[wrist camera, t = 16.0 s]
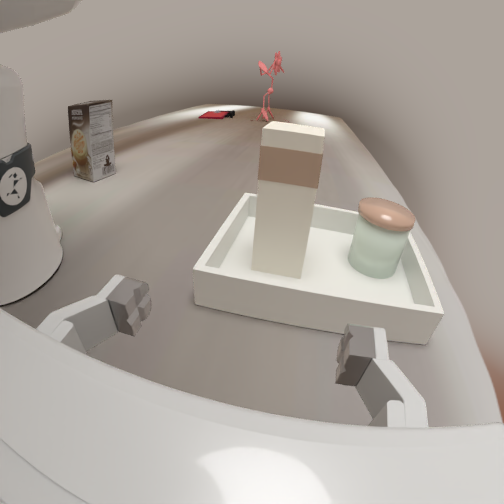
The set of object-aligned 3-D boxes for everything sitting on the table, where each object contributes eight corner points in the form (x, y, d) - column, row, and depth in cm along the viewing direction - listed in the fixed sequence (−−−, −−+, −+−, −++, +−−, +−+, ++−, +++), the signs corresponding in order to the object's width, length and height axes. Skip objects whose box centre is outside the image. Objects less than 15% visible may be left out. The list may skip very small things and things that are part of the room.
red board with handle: (237, 112, 153) (210, 112, 153) (237, 108, 151) (210, 107, 152) (230, 120, 128) (198, 119, 128) (230, 114, 126) (198, 114, 127)
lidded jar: (347, 274, 31) (362, 216, 27) (345, 244, 36) (356, 193, 32) (401, 284, 30) (422, 229, 26) (392, 253, 35) (407, 204, 31)
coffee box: (73, 176, 56) (66, 106, 47) (95, 168, 61) (90, 100, 52) (93, 182, 52) (87, 103, 44) (117, 173, 57) (113, 98, 48)
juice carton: (250, 270, 30) (261, 128, 23) (260, 244, 34) (272, 120, 27) (300, 279, 29) (325, 136, 22) (304, 252, 34) (324, 128, 26)
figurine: (248, 121, 123) (255, 46, 104) (265, 116, 144) (272, 53, 125) (282, 126, 119) (291, 49, 100) (294, 121, 140) (302, 56, 121)
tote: (194, 304, 27) (192, 268, 25) (243, 219, 42) (245, 192, 40) (425, 344, 24) (444, 314, 21) (397, 247, 38) (405, 222, 36)
